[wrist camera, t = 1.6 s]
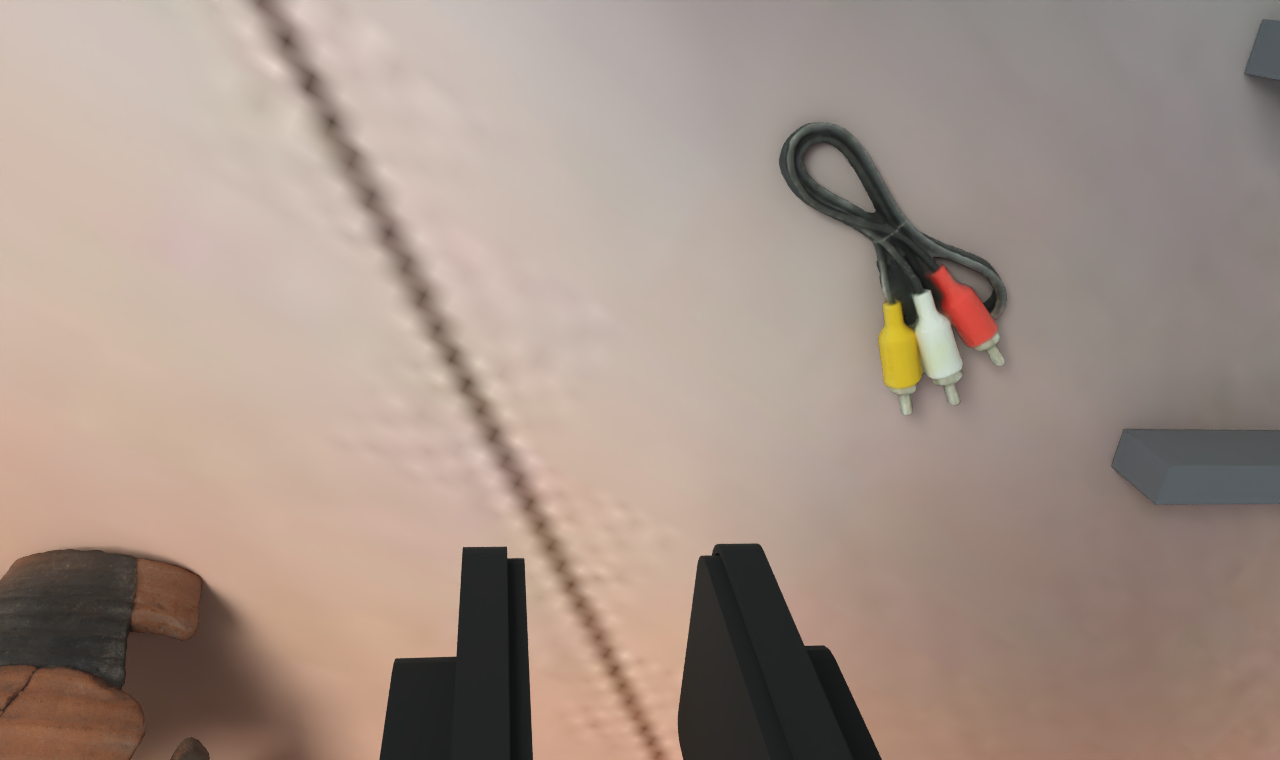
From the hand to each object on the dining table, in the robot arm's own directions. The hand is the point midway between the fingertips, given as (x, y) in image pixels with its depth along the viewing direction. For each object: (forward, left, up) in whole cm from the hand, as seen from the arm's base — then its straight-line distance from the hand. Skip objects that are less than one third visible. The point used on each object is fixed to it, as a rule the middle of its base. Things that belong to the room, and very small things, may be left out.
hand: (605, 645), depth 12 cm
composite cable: (0, +11, -18) cm, 21 cm away
